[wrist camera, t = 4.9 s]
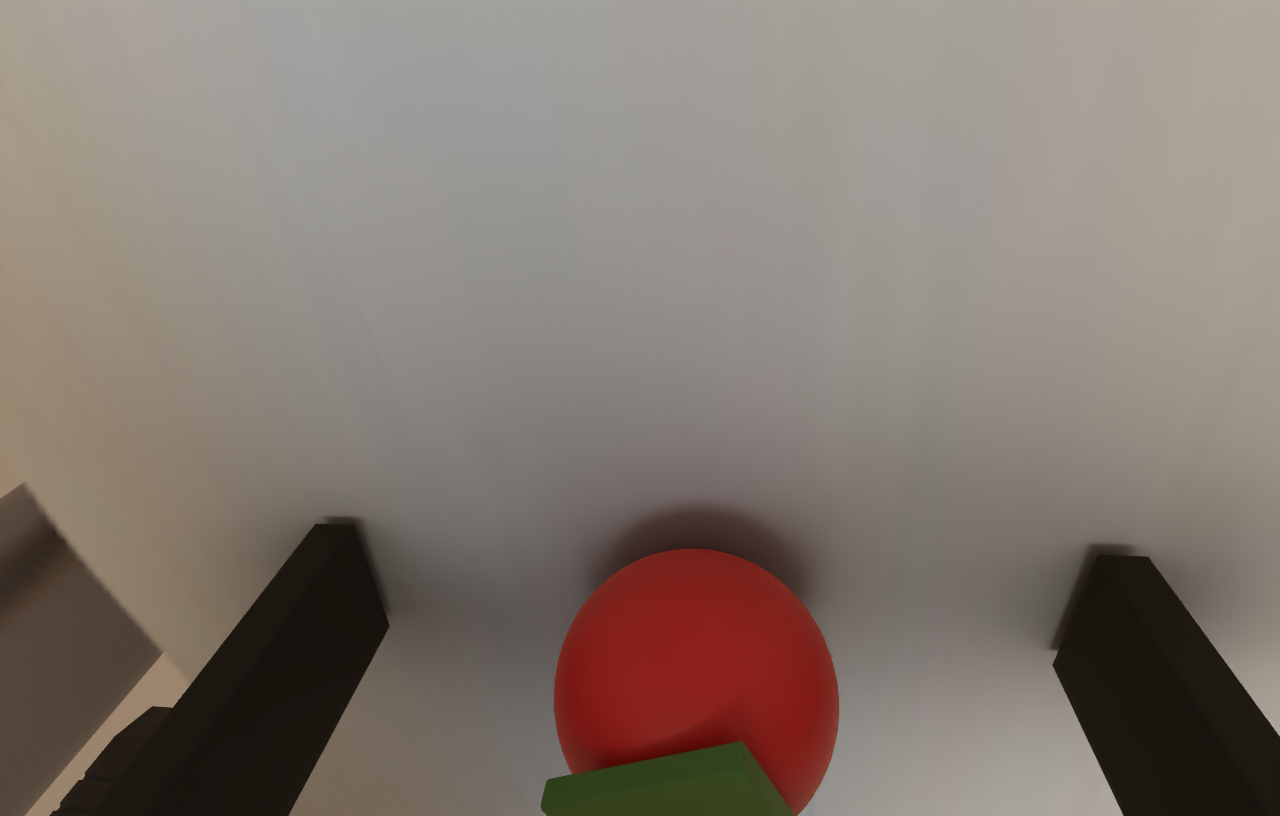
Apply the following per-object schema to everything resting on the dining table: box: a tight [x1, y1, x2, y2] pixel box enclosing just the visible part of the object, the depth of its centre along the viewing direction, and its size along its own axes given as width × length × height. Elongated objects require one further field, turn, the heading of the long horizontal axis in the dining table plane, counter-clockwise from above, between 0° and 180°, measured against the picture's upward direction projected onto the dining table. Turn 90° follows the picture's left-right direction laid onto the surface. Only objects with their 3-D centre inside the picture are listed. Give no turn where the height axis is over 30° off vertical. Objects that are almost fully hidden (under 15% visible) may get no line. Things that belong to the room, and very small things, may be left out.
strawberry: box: [541, 548, 839, 816], centre depth 11 cm, size 4×4×4 cm
